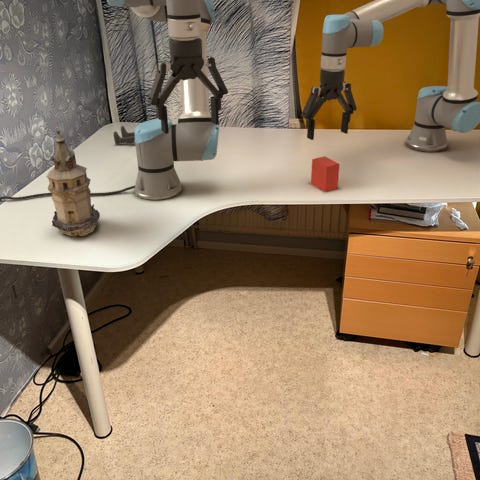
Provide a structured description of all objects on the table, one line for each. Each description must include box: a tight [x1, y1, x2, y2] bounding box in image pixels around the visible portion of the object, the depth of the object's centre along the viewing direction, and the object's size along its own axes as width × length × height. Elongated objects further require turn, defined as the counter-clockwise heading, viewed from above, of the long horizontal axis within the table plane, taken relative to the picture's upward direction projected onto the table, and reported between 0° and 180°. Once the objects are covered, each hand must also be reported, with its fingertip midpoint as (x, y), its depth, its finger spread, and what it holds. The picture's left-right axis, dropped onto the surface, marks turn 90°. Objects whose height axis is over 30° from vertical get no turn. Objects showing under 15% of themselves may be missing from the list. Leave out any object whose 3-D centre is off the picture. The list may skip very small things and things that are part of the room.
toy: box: [113, 125, 135, 146], centre depth 218 cm, size 26×6×30 cm
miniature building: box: [46, 129, 101, 237], centre depth 148 cm, size 13×14×30 cm
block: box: [310, 155, 341, 192], centre depth 178 cm, size 5×8×9 cm, turn 29°
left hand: (190, 127), depth 134 cm, fingers open, 13 cm apart
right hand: (327, 135), depth 176 cm, fingers open, 13 cm apart
